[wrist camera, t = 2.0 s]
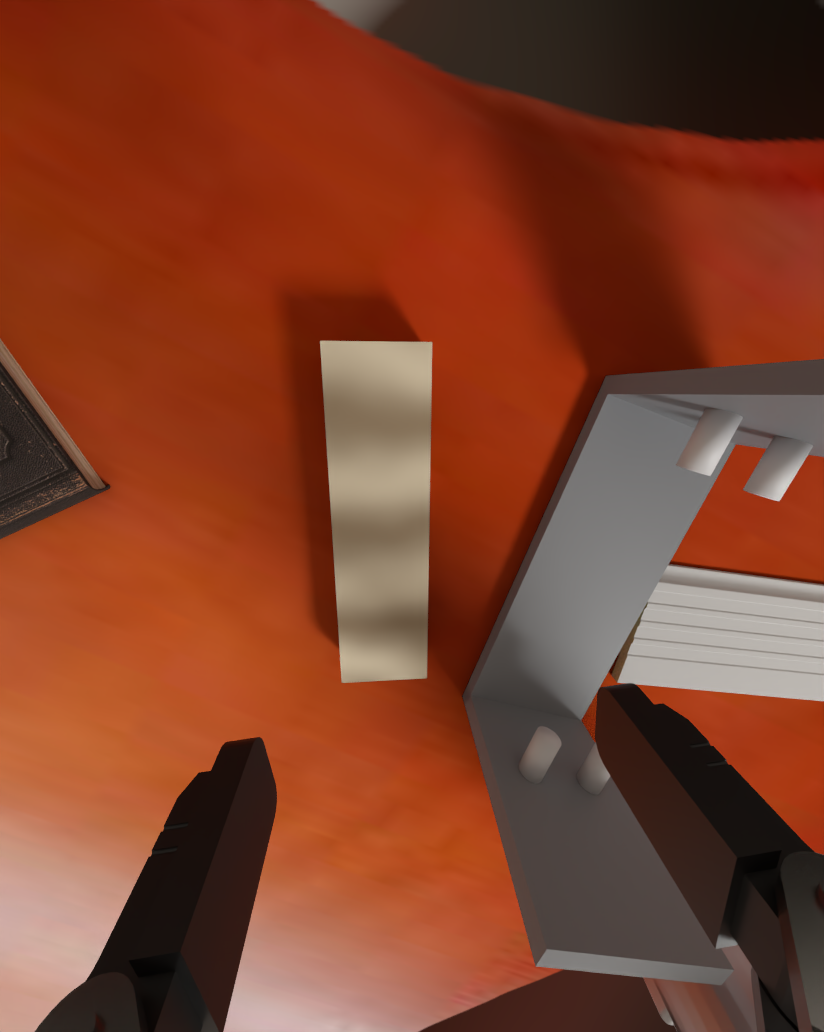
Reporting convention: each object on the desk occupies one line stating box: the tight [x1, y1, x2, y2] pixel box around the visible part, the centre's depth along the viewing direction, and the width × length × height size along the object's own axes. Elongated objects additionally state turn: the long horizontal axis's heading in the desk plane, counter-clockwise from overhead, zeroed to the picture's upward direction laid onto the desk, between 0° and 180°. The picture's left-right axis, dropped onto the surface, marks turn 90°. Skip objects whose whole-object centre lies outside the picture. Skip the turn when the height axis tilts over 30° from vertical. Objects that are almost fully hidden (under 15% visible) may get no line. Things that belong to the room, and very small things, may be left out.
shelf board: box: [320, 341, 432, 683], centre depth 26 cm, size 22×6×4 cm, turn 0°
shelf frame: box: [462, 359, 824, 985], centre depth 22 cm, size 26×10×16 cm, turn 161°
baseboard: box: [612, 564, 824, 701], centre depth 32 cm, size 31×3×12 cm
